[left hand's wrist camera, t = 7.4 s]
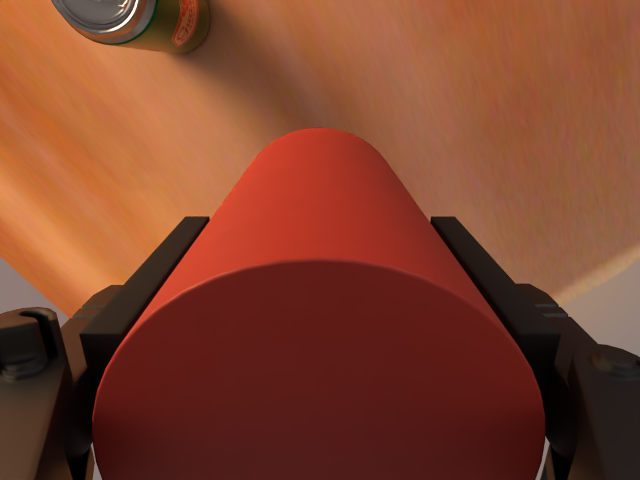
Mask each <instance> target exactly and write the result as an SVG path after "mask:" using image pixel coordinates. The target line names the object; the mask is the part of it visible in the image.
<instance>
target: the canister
mask: <svg viewBox="0 0 640 480" xmlns="http://www.w3.org/2000/svg"><path fill="white" fill-rule="evenodd" d="M92 441H93V447H94V452H95V458H96V463H97V466H98V469H99V472H100V474H101V477H102V480H535V479H536V476H537V473H538V470H539V467H540V464H541V461H542V456H543V450H544V444H545V413H544V408H543V403H542V397H541V392H540V389H539V387H538V384H537V381H536V379H535V376H534V373H533V371H532V368H531V367H530V365H529V363H528V362H527V360H526V358H525V357H524V355H523V353H522V352H521V350H520V348H519V347H518V345H517V344H516V342H515V341H514V339H513V338H512V337H511V335H510V334H509V332H508V331H507V330H506V328H505V327H504V325H503V324H502V323H501V321H500V320H499V318H498V317H497V316H496V314H495V313H494V311H493V310H492V309H491V307H490V306H489V304H488V303H487V302H486V300H485V299H484V297H483V296H482V295H481V293H480V292H479V290H478V289H477V288H476V286H475V285H474V283H473V282H472V281H471V279H470V278H469V276H468V275H467V274H466V272H465V271H464V269H463V268H462V267H461V265H460V264H459V262H458V261H457V260H456V258H455V257H454V255H453V254H452V253H451V251H450V250H449V248H448V247H447V246H446V244H445V243H444V241H443V240H442V239H441V237H440V236H439V234H438V233H437V232H436V230H435V229H434V227H433V226H432V225H431V223H430V222H429V220H428V219H427V218H426V216H425V215H424V213H423V212H422V211H421V209H420V208H419V206H418V205H417V204H416V202H415V201H414V199H413V198H412V197H411V195H410V194H409V192H408V191H407V190H406V188H405V187H404V185H403V184H402V183H401V181H400V180H399V178H398V177H397V176H396V174H395V173H394V171H393V170H392V169H391V167H390V166H389V164H388V163H387V162H386V160H385V159H384V158H383V157H382V156H381V154H380V153H379V152H378V151H377V150H376V149H375V148H373V147H372V146H371V145H370V144H368V143H367V142H365V141H364V140H363V139H361V138H359V137H357V136H355V135H353V134H350V133H347V132H344V131H341V130H336V129H331V128H308V129H303V130H298V131H295V132H292V133H289V134H286V135H284V136H282V137H280V138H278V139H276V140H275V141H274V142H272V143H271V144H269V145H268V146H267V147H266V148H265V149H263V150H262V151H261V152H260V153H259V154H258V156H257V157H256V158H255V159H254V160H253V162H252V163H251V164H250V166H249V167H248V169H247V170H246V171H245V173H244V174H243V176H242V177H241V178H240V180H239V181H238V182H237V184H236V185H235V187H234V188H233V189H232V191H231V192H230V193H229V195H228V196H227V198H226V199H225V200H224V202H223V203H222V205H221V206H220V207H219V209H218V210H217V211H216V213H215V214H214V216H213V217H212V218H211V220H210V221H209V222H208V224H207V225H206V227H205V228H204V229H203V231H202V232H201V234H200V235H199V236H198V238H197V239H196V240H195V242H194V243H193V245H192V246H191V247H190V249H189V250H188V251H187V253H186V254H185V256H184V257H183V258H182V260H181V261H180V263H179V264H178V265H177V267H176V268H175V269H174V271H173V272H172V274H171V275H170V276H169V278H168V279H167V280H166V282H165V283H164V285H163V286H162V287H161V289H160V290H159V291H158V293H157V294H156V296H155V297H154V298H153V300H152V301H151V303H150V304H149V305H148V307H147V308H146V309H145V311H144V312H143V314H142V315H141V316H140V318H139V319H138V320H137V322H136V323H135V325H134V326H133V327H132V329H131V330H130V332H129V333H128V334H127V336H126V337H125V338H124V340H123V341H122V343H121V344H120V345H119V347H118V348H117V350H116V352H115V354H114V355H113V357H112V359H111V360H110V362H109V364H108V365H107V367H106V369H105V371H104V374H103V377H102V379H101V382H100V385H99V387H98V390H97V394H96V399H95V405H94V410H93V416H92Z"/></svg>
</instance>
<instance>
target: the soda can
mask: <svg viewBox="0 0 640 480" xmlns="http://www.w3.org/2000/svg"><path fill="white" fill-rule="evenodd" d="M51 1H52V3H53V4H54V6H55V7H56V9H57V10H58V12H59V13H60V14H61V15H62V16H63V17H64V19H65V20H66V21H67V22H68V23H69V24H70V25H71V27H73V28H74V29H75V30H76V31H77V32H78V33H80V34H81V35H83V36H84V37H86V38H88V39H90V40H92V41H94V42H97V43H100V44H105V45H112V46H120V47H127V48H135V49H142V50H150V51H158V52H165V53H173V54H182V53H187V52H190V51H192V50H194V49H195V48H197V47H198V46H199V45H200V44H201V43H202V41H203V40H204V39H205V37H206V35H207V32H208V29H209V25H210V10H209V6H208V2H207V0H51Z"/></svg>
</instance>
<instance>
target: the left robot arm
mask: <svg viewBox="0 0 640 480" xmlns="http://www.w3.org/2000/svg"><path fill="white" fill-rule="evenodd" d="M209 221H210V219H209V217H185V218H184V219H183V220H182V221H181V222H180V223H179V224H178V226H177V227H176V228H175V229H174V230H173V231H172V232H171V233H170V234H169V235H168V237H167V238H166V239H165V240H164V241H163V242H162V243H161V244H160V245H159V247H158V248H157V249H156V250H155V251H154V252H153V253H152V254H151V255H150V256H149V258H148V259H147V260H146V261H145V262H144V263H143V264H142V265H141V266H140V267H139V269H138V270H137V271H136V272H135V273H134V274H133V275H132V276H131V277H130V278H129V280H128V281H127V282H126V283H125V284H124V285H111V286H109V287H107V288H105V289H103V290H102V291H100V292H98V293H96V294H94V295H93V296H92V297H91V298H90V299H89V300H88V301H87V302H86V303H85V304H84V305H83V306H82V309H79V310H78V311H77V312H76V313H75V314H74V315H73V318H70V319H69V320H68V321H67V322H66V323H65V324H64V325H63V326H62V327H61V328H60V326H59V322H58V318H57V315H56V312H54V311H52V310H51V309H48V308H41V307H31V308H22V309H17V310H13V311H9V312H5V313H2V314H0V480H92V479H93V472H94V464H95V462H94V456H93V452H92V448H91V444H92V442H93V441H92V416H93V410H94V405H95V399H96V394H97V390H98V387H99V385H100V382H101V379H102V377H103V374H104V371H105V369H106V367H107V365H108V364H109V362H110V360H111V359H112V357H113V355H114V354H115V352H116V350H117V348H118V347H119V345H120V344H121V343H122V341H123V340H124V338H125V337H126V336H127V334H128V333H129V332H130V330H131V329H132V327H133V326H134V325H135V323H136V322H137V320H138V319H139V318H140V316H141V315H142V314H143V312H144V311H145V309H146V308H147V307H148V305H149V304H150V303H151V301H152V300H153V298H154V297H155V296H156V294H157V293H158V291H159V290H160V289H161V287H162V286H163V285H164V283H165V282H166V280H167V279H168V278H169V276H170V275H171V274H172V272H173V271H174V269H175V268H176V267H177V265H178V264H179V263H180V261H181V260H182V258H183V257H184V256H185V254H186V253H187V251H188V250H189V249H190V247H191V246H192V245H193V243H194V242H195V240H196V239H197V238H198V236H199V235H200V234H201V232H202V231H203V229H204V228H205V227H206V225H207V224H208V222H209ZM430 223H431V225H432V226H433V227H434V229H435V230H436V232H437V233H438V234H439V236H440V237H441V239H442V240H443V241H444V243H445V244H446V246H447V247H448V248H449V250H450V251H451V253H452V254H453V255H454V257H455V258H456V260H457V261H458V262H459V264H460V265H461V267H462V268H463V269H464V271H465V272H466V274H467V275H468V276H469V278H470V279H471V281H472V282H473V283H474V285H475V286H476V288H477V289H478V290H479V292H480V293H481V295H482V296H483V297H484V299H485V300H486V302H487V303H488V304H489V306H490V307H491V309H492V310H493V311H494V313H495V314H496V316H497V317H498V318H499V320H500V321H501V323H502V324H503V325H504V327H505V328H506V330H507V331H508V332H509V334H510V335H511V337H512V338H513V339H514V341H515V342H516V344H517V345H518V347H519V348H520V350H521V352H522V353H523V355H524V357H525V358H526V360H527V362H528V363H529V365H530V367H531V368H532V371H533V373H534V376H535V379H536V381H537V384H538V387H539V389H540V392H541V397H542V403H543V408H544V413H545V436H546V438H547V439H548V441H549V443H550V444H549V448H548V452H547V455H546V459H545V463H544V467H543V471H542V475H541V478H540V480H640V357H639V356H637V355H634V354H632V353H630V352H628V351H625V350H623V349H620V348H616V347H612V346H609V345H602V344H597V343H596V342H595V341H594V340H593V339H592V338H591V337H590V336H589V335H588V334H587V333H586V332H585V331H584V330H583V329H582V328H581V327H580V326H579V325H578V324H577V323H576V322H575V321H574V320H573V319H572V318H571V317H568V314H567V313H566V312H565V311H564V310H563V309H562V308H561V307H559V305H558V304H557V303H556V302H555V301H554V300H553V299H552V298H551V297H550V296H549V295H548V294H547V293H545V292H543V291H542V290H540V289H538V288H536V287H534V286H532V285H531V284H515V283H514V281H513V280H512V279H511V278H510V277H509V276H508V275H507V274H506V273H505V272H504V270H503V269H502V268H501V267H500V266H499V265H498V264H497V263H496V262H495V261H494V259H493V258H492V257H491V256H490V255H489V254H488V253H487V252H486V251H485V249H484V248H483V247H482V246H481V245H480V244H479V243H478V242H477V241H476V240H475V238H474V237H473V236H472V235H471V234H470V233H469V232H468V231H467V230H466V229H465V227H464V226H463V225H462V224H461V223H460V222H459V221H458V220H457V219H456V218H455V217H431V221H430Z"/></svg>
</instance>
